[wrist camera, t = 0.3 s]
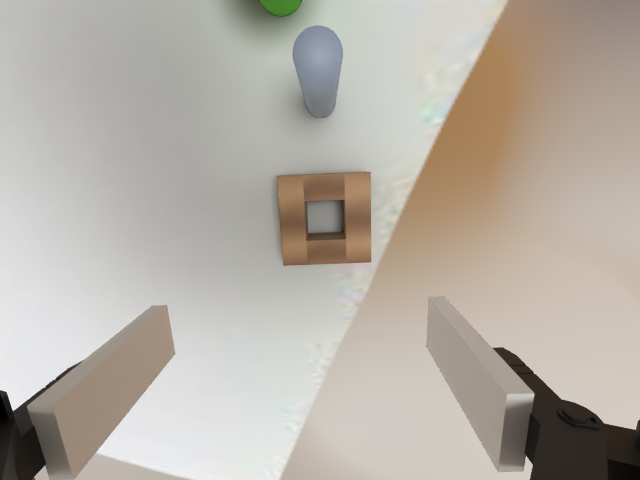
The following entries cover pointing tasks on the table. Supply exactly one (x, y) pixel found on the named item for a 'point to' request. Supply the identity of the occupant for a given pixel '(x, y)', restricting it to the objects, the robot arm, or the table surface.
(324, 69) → the blue-grey rounded rod
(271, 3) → the cup
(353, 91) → the table surface
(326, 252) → the wooden socket block
